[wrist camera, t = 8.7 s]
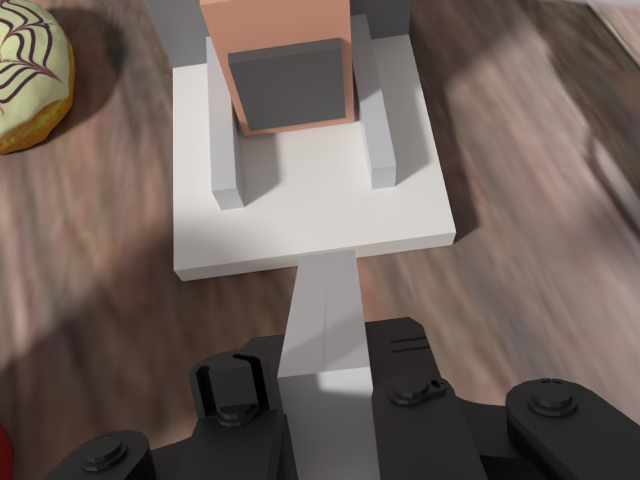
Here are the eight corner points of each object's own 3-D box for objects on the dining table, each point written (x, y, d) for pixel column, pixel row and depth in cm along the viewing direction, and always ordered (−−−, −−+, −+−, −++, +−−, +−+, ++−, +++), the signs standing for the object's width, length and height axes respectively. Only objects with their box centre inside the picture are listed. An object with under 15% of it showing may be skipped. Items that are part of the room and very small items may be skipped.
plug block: (342, 50, 33) (333, -99, 25) (355, 130, 31) (350, -7, 23) (239, 65, 33) (197, -78, 25) (245, 146, 31) (200, 16, 23)
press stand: (398, 16, 36) (408, -147, 27) (452, 244, 29) (488, 128, 20) (180, 48, 37) (117, -103, 28) (182, 281, 30) (100, 182, 21)
